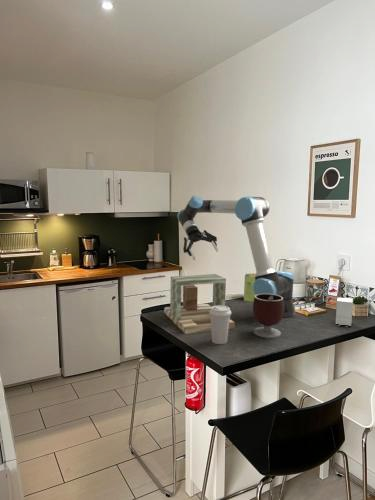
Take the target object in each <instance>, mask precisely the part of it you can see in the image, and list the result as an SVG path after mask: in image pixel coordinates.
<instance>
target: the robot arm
mask: <svg viewBox="0 0 375 500" xmlns="http://www.w3.org/2000/svg"><path fill="white" fill-rule="evenodd" d="M269 212H270V203H269V201H268V200H267V199H266V198H264V197H262V196H249V195H248V196H243V197H240V199H238V200H234V199H233V200H225V199H222V200H220V199H219V200H218V199H217V200H215V199H214V200H213V199H212V200H211V199H207V200H206V199H205V200H204V199H202V198H201V197H200V196H196V195H192V196H191V197H190V199H189V200H188V202H187V204H186V206H185V208H184V209H181V210H180V211H178V212H177V215H176V216H177V219H178V222H179V223H180V225H181V226H182V228H183V230H184V232H185V233H186V236H187V237H183V253H184V254H186V253H187V255H188V256H189V257H191V258H192V259H193V261H196V257H195V255H194V253H193V251H192V249H191V248H192V247H193V245H194V243H197V242H200V241H205V242H208V243H211V245H212V247H213V248H214V250H215V252H219V250H218V247H217V246H218V244H217V242H218V237H217V236H215V235H213V234H212V233H210V232H207V230H206V229H204V230H203V231H202V232H201V231H200V229H199V228H198V226H197V224H196V223H195V221H194V219H195V217H196V215H197V214H201V213H210V214H213V213H214V214H232V215H233V214H235V216H236V218H238V219H240V221H241V225H242V226H243V227H245V229H246V233H247V237H248V238H247V239H248V241H249V246H250V251H251V256H252V258H253V264H254V267H255V271H256V272H255V273H254V274H255V276H254V277H255V282H254V284H253V291H254V293H255V295H257V294H275V295H279V296H281V297H283V302H284V312H283V317H282V318H292V317H294V316H295V315H296V309H295V305H294V302H293V293H294V274H293V273H291V272H289V271H282V270H281V271H280V270H276V269H274V267H273V263H272V259H271V256H270V250H269V247H268V242H267V239H266V235H265V230H264V226H263V222H264V220H265V217H266V216H268V214H269ZM188 241H189V243H188Z"/></svg>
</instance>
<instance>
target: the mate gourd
mask: <svg viewBox="0 0 375 500" xmlns="http://www.w3.org/2000/svg"><path fill="white" fill-rule="evenodd" d="M252 303H253V304H252V311H253V312H252V314H253V317H254V320H256V322H257V323H259V324H260V325H263V327H262V326H261V327H256V328H254V329H253V334H254V335H257V336H259V337H261V338H267V339H268V338H270V339H273V338H278V337H281V334H282V332H281V331H280V330H279V329H276V328H273V327H272V326H275V325H278V324H279V323H281V321H282V320H283V318H284V317H283V312H284V302H283V297H281V296H279V295H275V294H257V295H255V298H254V302H252Z"/></svg>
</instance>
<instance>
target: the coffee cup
mask: <svg viewBox="0 0 375 500" xmlns="http://www.w3.org/2000/svg"><path fill="white" fill-rule="evenodd" d="M209 313H210V316H211V331H210V332H211V342H212V343H213V344H215V345H224V344H227V343H228V337H229V336H228V335H229V330H230V329H229V321H230V320H231V315H232V310H231V308H230V307H229V306H227V305H225V306H220V305H218V306H213V305H212V306H211V309H210V311H209Z"/></svg>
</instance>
